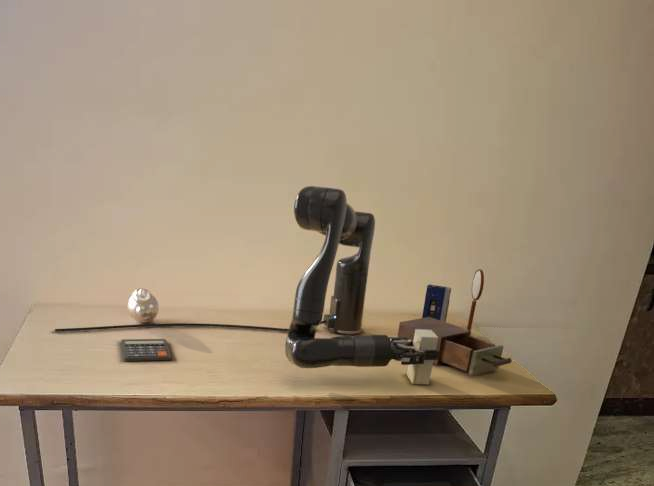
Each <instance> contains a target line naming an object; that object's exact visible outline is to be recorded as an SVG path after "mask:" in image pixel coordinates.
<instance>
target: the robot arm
mask: <svg viewBox="0 0 654 486" xmlns="http://www.w3.org/2000/svg"><path fill="white" fill-rule="evenodd" d="M293 214H294V219H295V222H296V224H297V225H298V227H299V228H300V229H303V230H305V231H312V232H316V233H319V234H321V235H322V236H325V238H324V241H323V244H322V247H321V249H320V251H319V253H318V254H317V256H316V257H315V259H314V260H313V261H312V263H310V265H309V267H308V268H307V269H306V270H305V272H304V273H303V274H302V276H301V277H300V279H299V281H298V283H297V286H296V289H295V295H294V302H293V310H292V317H291V321H290V324H289V328H280V327H270V326H267V327H266V326H258V325H257V326H256V325H240V324H223V323H222V324H221V323H195V322H193V323H190V322H189V323H188V322H186V323H185V322H184V323H183V322H182V323H181V322H180V323H179V322H178V323H173V322H172V323H171V322H170V323H141V324H140V323H139V324H122V325H104V326H91V327H69V328H54V332H55V333H58V332H78V331H95V330H96V331H97V330H113V329H114V330H115V329H129V328H149V327H213V328H214V327H215V328H216V327H217V328H219V327H220V328H233V329H234V328H236V329H237V328H238V329H254V330H264V331H265V330H266V331H278V332H287V334H286V335H287V336H286V338H285V346H284V353H285V357H286V359H287V361H288V362H289V363H291V364H292V365H295V366H296V367H298V368H301V369H318V368H319V369H320V368H327V367H356V368H377V367H378V368H379V367H386V366H388V365H389V364H390V362H391V360H394V361H396V362H400V365H402V366H409V365H412V364H424V360H437V359H438V356H439V351H437V350H418V349H416V348H415V347H412V346H413V342H412V340H407V338H406V337H404V338H401V337H398V336H396V337H395V336H388V335H387V334H361V333H362V330H363V329H362V327H363V318H364V309H365V300H366V292H367V285H368V277H369V268H370V260H371V253H372V246H373V241H374V235H375V229H376V218H375V215H374V214H373V213H371V212H365V211H364V212H363V211H355V209H354V207H352V206H351V205H350V204H349V203H348V201H347V194H346V192H345V191H344V189H343V190H342V189H340V188H334V187H326V186H317V185H316V186H315V185H309V186H304V187H303V188H301V189H300V191H298V193H297V195H296V197H295V200H294V204H293ZM339 245H340V246H343V247H351V248H358V251H357V253H355V254H353V255H350V256H346V257H342V258H339V259H338V260H337V262H336V267H335V277H334V286H333V295H331V296H330V305H329V314H324V310H325V304H326V303H325V302H326V297H327V292H328V286H329V282H330V278H331V274H332V270H333V267H334V263H335V259H336V256H337V252H338V249H339ZM322 324H323V325H324V326H325V327H326V328H327V329H329V330H330V331H331V332H332V333H333V334H339V335H341V336H339V335H338V336H337V335H336V336H330V337H329V338H328V337H325V338H322V337H321V338H320V337H319V338H318V337H317V338H316V333H317V328H318V327H319V326H320V325H322ZM410 350H411V353H410ZM417 356H419V358H418V357H417Z"/></svg>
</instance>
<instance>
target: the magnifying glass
mask: <svg viewBox="0 0 654 486" xmlns="http://www.w3.org/2000/svg"><path fill="white" fill-rule="evenodd" d="M484 284H485V274H484V271H483V269H481V268H479V269H476V271H475V272H474V275H473V278H472V283H471V297H472V301H471V306H470V311H469V316H468V320H467V326H466V329H467V330H470V331H471V332H472V325H473V321H474V316H475V311H476V307H477V301H479V300H480V298H481V297H482V293H483V290H484Z"/></svg>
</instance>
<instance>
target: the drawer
mask: <svg viewBox="0 0 654 486" xmlns="http://www.w3.org/2000/svg"><path fill="white" fill-rule="evenodd" d="M503 350H504V345H503V344H497V345H496V343H494V342H490V341H487V340H484V339H481V338H479V337H476V336H472V335H467V334H464V335H460V336H455V337H450V338H445V339H443V341H442V346H441V352H440V357H439V361H441V362H444V364H447V365H450V366H451V367H454V368H456V369H459V370H462V371H464V372H468V375H471V376H475V375H478V374H482V373H486V372H489V371H490V372H491V371H493V370H494V371H495V370H497V369H499V368H500V367H502V366H506V365H509V364H511V363H512V358H510V357H507V358H505V357H502V354H503Z"/></svg>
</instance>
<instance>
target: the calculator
mask: <svg viewBox="0 0 654 486" xmlns="http://www.w3.org/2000/svg"><path fill="white" fill-rule="evenodd" d="M120 342H121V349H122V356H123V361H124V362H138V361H139V362H141V361H171V360H172V356H171V352H170V349H169V346H168V343H167V339H166V338H131V339H128V338H127V339H126V338H125V339H121V340H120Z"/></svg>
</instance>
